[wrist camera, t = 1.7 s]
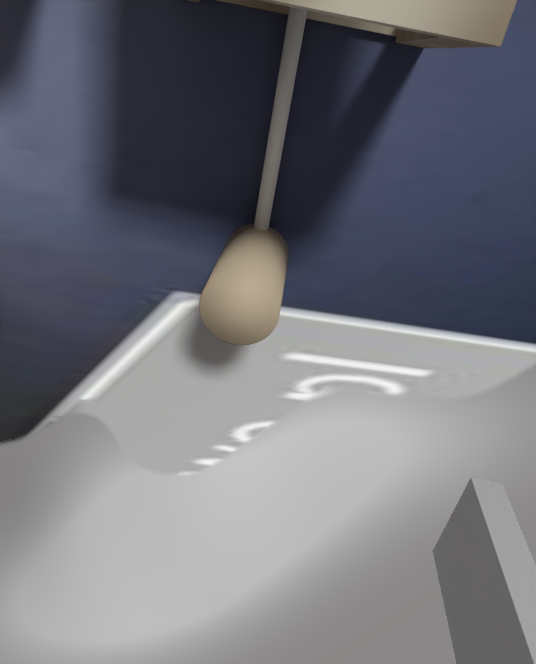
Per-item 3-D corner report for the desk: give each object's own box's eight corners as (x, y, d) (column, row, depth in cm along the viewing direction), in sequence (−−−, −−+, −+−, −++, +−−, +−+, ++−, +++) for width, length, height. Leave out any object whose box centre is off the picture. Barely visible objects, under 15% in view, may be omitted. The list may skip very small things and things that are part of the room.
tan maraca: (194, 271, 26) (162, 329, 21) (259, -339, 15) (225, -531, 10) (309, 294, 26) (305, 358, 21) (452, -300, 15) (516, -472, 10)
